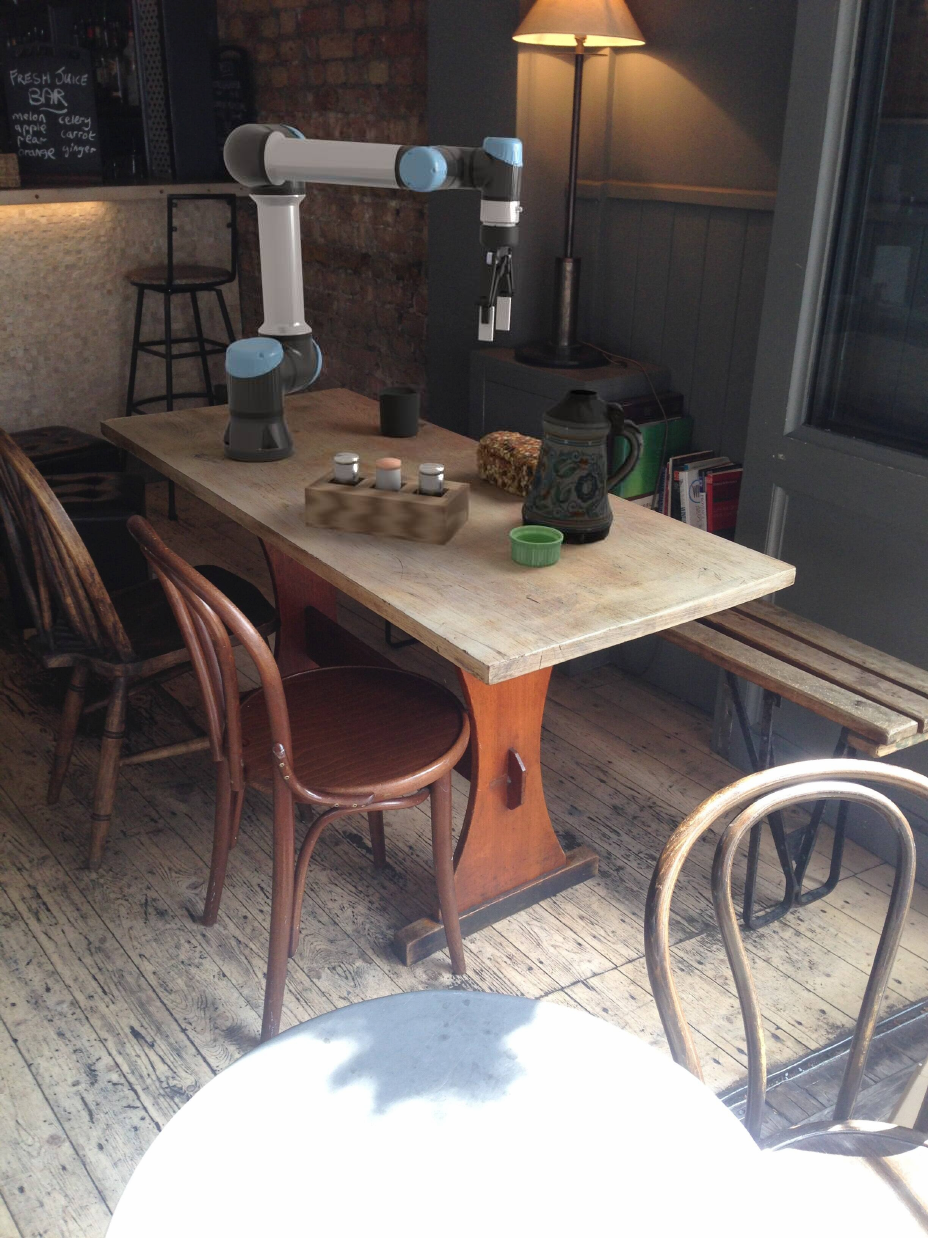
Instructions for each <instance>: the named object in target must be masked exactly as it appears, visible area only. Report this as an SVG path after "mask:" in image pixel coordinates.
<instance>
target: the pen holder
mask: <svg viewBox="0 0 928 1238" xmlns="http://www.w3.org/2000/svg"><path fill="white" fill-rule="evenodd" d="M378 396H379V397H378V398H379V405H378V406H379V421H380V422H379V424H380V425H379V426H380V432H381V434H382V435H383V436H386V437H390V438H399V439H401V438H402V439H405V438H412V437H415V436H416V435H417V434H418V432H419V421H420V420H419V419H420V418H419V417H420V406H421V405H420V404H421V402H420V400H421V393H419V392H418V391H417V390H416V389H415V388H414V387H411V386H405V385H403V386H402V385H395V386H394V385H393V386H392V385H391V386H385V387H381V388H380V389H379V392H378Z"/></svg>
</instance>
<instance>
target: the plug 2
mask: <svg viewBox="0 0 928 1238" xmlns="http://www.w3.org/2000/svg"><path fill="white" fill-rule="evenodd" d="M444 474H445V466H444V465H443V464H441V463H437V462H435V463H434V462H425V463H421V464H419V465H418V477H419V488H418V495H425V496H432V497H440V498H441V497H442V496H443V489H444V481H445V475H444Z"/></svg>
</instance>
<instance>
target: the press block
mask: <svg viewBox="0 0 928 1238" xmlns="http://www.w3.org/2000/svg"><path fill="white" fill-rule="evenodd" d="M470 485H471V483H467V482H457V481H451V480H444V489H443V496H442V497H441V498H440V497H432V496H425V495H418V488H419V476H412V475H402V474H401V489H400V490H399V491H398V492H394V491H386V490H378V489H376V471H370V470H362V469H359V484H358V485H356V486H347V485H340V484H334V468H332V469H331V470H329V471H328V472H327V473H325V474H323V475H322V476H321V477H320V478H319V477H318V479H316V480H314V481H313V482H311V483H310V484H308V485H307V486H305V487H304V514H305V516H304V518H305V526H306V527H313V528H319V529H327V530H333V531H339V532H340V531H341V532H347V533H348V532H349V533H355V534H362V535H368V536H376V537H382V538H390V539H398V540H404V541H412V542H419V543H425V544H432V545H439V546H445V545H447V543H448V542H449V541H450V540H451V539H453V537H454V536H455V535H456V534H457V533H458V532H459V531H460V530H461V529H462V527H464V526H465V524H467V522H468V521H469V513H470V511H469V509H470V506H469V505H470Z"/></svg>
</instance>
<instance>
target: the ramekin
mask: <svg viewBox="0 0 928 1238" xmlns="http://www.w3.org/2000/svg"><path fill="white" fill-rule="evenodd" d="M508 536H509V539H510V555H511V559H512V560H513V561H514V562H516V563H517V564H519V565H523V566H527V567H536V568H537V567H538V568H539V567H540V568H541V567H548V566H552V565H554V564H556V563H558V561H559V560H560V554H561V550H562V549H561V548H562V544H561V543H562V541H563V534H562V533H561V532H560V531H558V530H556V529H553V528H550V527H545V526H523V525H522V526H518V527H515V528H512V530H510V531H509V535H508Z"/></svg>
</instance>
